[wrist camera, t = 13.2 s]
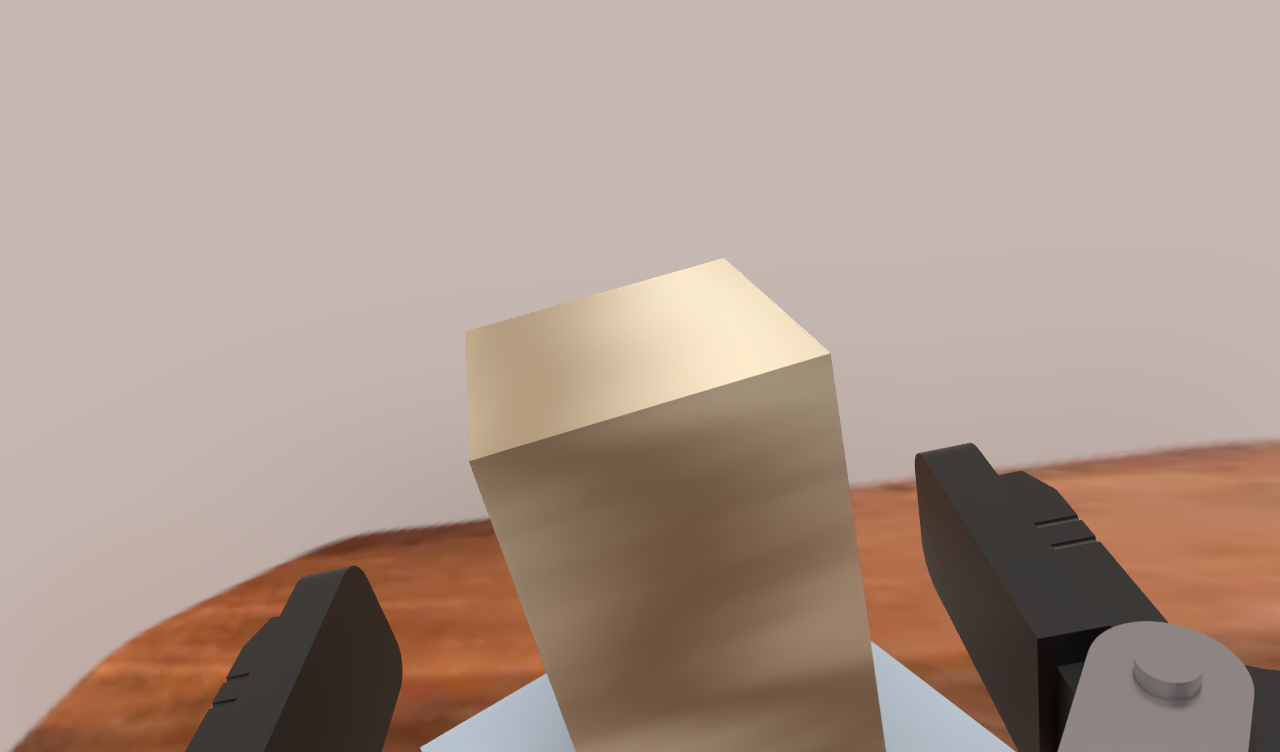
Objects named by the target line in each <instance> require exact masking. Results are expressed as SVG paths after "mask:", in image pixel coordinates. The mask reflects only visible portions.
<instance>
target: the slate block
mask: <svg viewBox="0 0 1280 752" xmlns="http://www.w3.org/2000/svg"><path fill="white" fill-rule="evenodd" d="M871 647H872V654H873V661H874V668H875V676H876V683H877V690H878V697H879V704H880V711H881V719H882V726H883V733H884V740H885V747H886V752H1015V751H1014V750H1013V749H1011V748H1010V747H1009V746H1007V745H1006V744H1005V743H1003V742H1002V741H1001V740H1000V739H998V738H997V737H996V736H994V735H993V734H992V733H990V732H989V731H988V730H987V729H985V728H984V727H983V726H981V725H980V724H979V723H977V722H976V721H975V720H974V719H972V718H971V717H970V716H968V715H967V714H966V713H964V712H963V711H962V710H960V709H959V708H958V707H957V706H955V705H954V704H953V703H951V702H950V701H949V700H947V699H946V698H945V697H944V696H942V695H941V694H940V693H938V692H937V691H936V690H934V689H933V688H932V687H930V686H929V685H928V684H927V683H925V682H924V681H923V680H921V679H920V678H919V677H917V676H916V675H915V674H914V673H912V672H911V671H910V670H908V669H907V668H906V667H904V666H903V665H902V664H900V663H899V662H898V661H897V660H895V659H894V658H893V657H891V656H890V655H889V654H887V653H886V652H885V651H884V650H882V649H881V648H880V647H878V646H877V645H876V644H874V643H873V642H872V641H871ZM420 748H421V751H422V752H575V749H574V746H573V743H572V741H571V738H570V735H569V733H568V730H567V727H566V724H565V722H564V719H563V716H562V713H561V711H560V708H559V705H558V703H557V700H556V697H555V694H554V692H553V689H552V686H551V683H550V681H549V678H548V675H547V673H546V674H545V675H543V676H541V677H540V678H538V679H536V680H534V681H533V682H531V683H529V684H528V685H526V686H524V687H522V688H521V689H519V690H517V691H516V692H514V693H512V694H511V695H509V696H507V697H505V698H504V699H502V700H500V701H499V702H497V703H495V704H494V705H492V706H490V707H488V708H487V709H485V710H483V711H482V712H480V713H478V714H477V715H475V716H473V717H471V718H470V719H468V720H466V721H465V722H463V723H461V724H460V725H458V726H456V727H454V728H453V729H451V730H449V731H448V732H446V733H444V734H443V735H441V736H439V737H437V738H436V739H434V740H432V741H431V742H429V743H427V744H426V745H424V746H422V747H420Z"/></svg>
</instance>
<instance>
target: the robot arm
mask: <svg viewBox="0 0 1280 752" xmlns="http://www.w3.org/2000/svg"><path fill="white" fill-rule="evenodd" d="M915 474H916V485H917V495H918V506H919V516H920V526H921V537H922V546H923V551H924V556H925V560H926V564H927V567H928V571H929V574H930V577H931V579H932V582H933V584H934V587H935V589H936V591H937V593H938V595H939V597H940V599H941V601H942V603H943V605H944V607H945V608H946V610H947V612H948V614H949V616H950V618H951V620H952V622H953V624H954V626H955V628H956V630H957V632H958V634H959V636H960V638H961V640H962V642H963V644H964V646H965V647H966V649H967V651H968V653H969V655H970V657H971V659H972V661H973V663H974V665H975V667H976V669H977V671H978V673H979V675H980V677H981V679H982V681H983V683H984V685H985V686H986V688H987V690H988V692H989V694H990V696H991V698H992V700H993V702H994V704H995V706H996V708H997V710H998V712H999V714H1000V716H1001V718H1002V720H1003V722H1004V724H1005V725H1006V727H1007V729H1008V731H1009V733H1010V735H1011V737H1012V739H1013V741H1014V743H1015V745H1016V747H1017V749H1018V751H1019V752H1280V671H1278V670H1269V669H1261V668H1256V667H1252V666H1247V665H1244V664H1243V663H1242V662H1241V661H1240V660H1239V658H1238V657H1237V656H1236V655H1235V654H1233V653H1232V652H1231V651H1230V650H1229V649H1228V648H1226V647H1225V646H1223V645H1222V644H1220V643H1219V642H1218V641H1216V640H1214V639H1212V638H1210V637H1208V636H1207V635H1205V634H1202V633H1200V632H1197V631H1195V630H1192V629H1190V628H1186V627H1183V626H1179V625H1175V624H1170V623H1168V622H1167V621H1166V619H1165V618H1164V617H1163V616H1162V615H1161V613H1160V612H1159V611H1158V610H1157V609H1156V607H1155V606H1154V605H1153V604H1152V603H1151V602H1150V600H1149V599H1148V598H1147V597H1146V596H1145V594H1144V593H1143V592H1142V591H1141V590H1140V589H1139V587H1138V586H1137V585H1136V584H1135V583H1134V581H1133V580H1132V579H1131V578H1130V577H1129V575H1128V574H1127V573H1126V572H1125V571H1124V570H1123V568H1122V567H1121V566H1120V565H1119V564H1118V562H1117V561H1116V560H1115V559H1114V558H1113V556H1112V555H1111V554H1110V553H1109V552H1108V551H1107V549H1106V548H1105V547H1104V546H1103V545H1102V543H1101V542H1097V541H1096V538H1095V535H1094V534H1093V533H1092V532H1091V530H1090V529H1089V528H1088V527H1087V526H1086V524H1085V523H1084V522H1083V521H1082V520H1079V519H1078V516H1077V514H1076V513H1075V511H1074V510H1073V509H1072V508H1071V507H1070V505H1069V504H1068V503H1067V502H1066V501H1065V500H1064V498H1063V497H1062V496H1061V495H1060V494H1059V492H1058V491H1057V490H1056V489H1054V488H1053V487H1051V486H1049V485H1047V484H1045V483H1043V482H1042V481H1040V480H1038V479H1036V478H1034V477H1032V476H1031V475H1029V474H1027V473H1025V472H1023V471H1017V472H1012V473H1007V474H1002V475H998V474H997V473H996V472H995V470H994V469H993V468H992V466H991V465H990V464H989V462H988V461H987V460H986V458H985V457H984V456H983V454H982V453H981V452H980V451H979V449H978V448H977V447H976V446H975V445H974V444H972V443H967V444H963V445H957V446H953V447H947V448H942V449H937V450H933V451H928V452H923V453H918V454H917V455H916V457H915ZM226 678H227V683H224V684H222V686H221V688H220V690H219V692H218V693H217V695H216V697H215V699H214V701H213V702H212V703H213V709H209V710H208V712H207V713H206V715H205V717H204V719H203V721H202V722H201V724H200V726H199V728H198V730H197V731H196V733H195V735H194V737H193V739H192V740H191V742H190V744H189V746H188V748H187V749H186V751H185V752H381V751H382V748H383V745H384V741H385V738H386V735H387V731H388V728H389V725H390V722H391V718H392V715H393V712H394V708H395V705H396V702H397V698H398V695H399V692H400V688H401V683H402V659H401V653H400V649H399V646H398V643H397V641H396V639H395V636H394V634H393V632H392V630H391V628H390V626H389V624H388V621H387V619H386V617H385V615H384V613H383V611H382V609H381V607H380V604H379V602H378V600H377V598H376V596H375V594H374V592H373V589H372V587H371V585H370V583H369V581H368V579H367V577H366V575H365V573H364V572H363V571H362V570H361V569H360V568H359V567H357V566H350V567H345V568H340V569H335V570H330V571H325V572H320V573H316V574H311V575H306V576H303V577H302V578H301V579H300V580H299V581H298V583H297V584H296V586H295V588H294V590H293V592H292V594H291V596H290V598H289V600H288V602H287V603H286V605H285V607H284V609H283V611H282V613H281V615H280V616H278V617H273V618H271V619H270V620H269V621H268V622H267V623H266V624H265V625H264V626H263V627H262V628H261V629H260V630H259V631H258V632H257V633H256V634H255V635H254V636H253V637H252V638H251V639H250V641H249V642H248V643H247V644H246V645H245V646H244V647H243V648H242V650H241V652H240V654H239V655H238V657H237V659H236V661H235V663H234V665H233V666H232V668H231V670H230V672H229V674H228V675H227V677H226Z"/></svg>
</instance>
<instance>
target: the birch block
mask: <svg viewBox="0 0 1280 752" xmlns="http://www.w3.org/2000/svg"><path fill="white" fill-rule="evenodd" d="M830 354H831V353H830V352H829V351H828V350H826V349H825V348H824V347H823V346H822V345H821V344H819V342H817V341H816V340H815V339H814V338H813V337H812V336H811V335H809V334H808V333H807V332H806V331H805V330H804V329H803V328H802V327H801V326H799V325H798V324H797V323H796V322H795V321H794V320H793V319H792V318H791V317H789V316H788V315H787V314H786V313H785V312H784V311H783V310H782V309H780V308H779V307H778V306H777V305H776V304H775V303H774V302H773V301H772V300H770V299H769V298H768V297H767V296H766V295H765V294H764V293H763V292H761V291H760V290H759V289H758V288H757V287H756V286H755V285H754V284H752V283H751V282H750V281H749V280H748V279H747V278H746V277H745V276H744V275H742V274H741V273H740V272H739V271H738V270H737V269H736V268H734V267H733V266H732V265H731V264H730V263H729V262H728V261H727V260H726V259H724V258H722V259H719V260H715V261H712V262H708V263H705V264H701V265H698V266H694V267H691V268H687V269H684V270H680V271H677V272H673V273H670V274H666V275H663V276H659V277H656V278H652V279H649V280H645V281H642V282H638V283H635V284H631V285H627V286H624V287H620V288H617V289H613V290H610V291H606V292H603V293H600V294H596V295H593V296H589V297H585V298H582V299H578V300H575V301H571V302H568V303H564V304H561V305H557V306H554V307H550V308H547V309H543V310H540V311H536V312H533V313H529V314H526V315H522V316H518V317H515V318H511V319H508V320H505V321H501V322H498V323H494V324H490V325H487V326H483V327H480V328H477V329H473V330H469V331H466V357H467V398H468V440H469V462H470V465H471V468H472V471H473V473H474V476H475V479H476V481H477V484H478V487H479V490H480V492H481V495H482V498H483V501H484V503H485V506H486V509H487V512H488V514H489V517H490V520H491V522H492V525H493V528H494V531H495V533H496V536H497V539H498V542H499V544H500V547H501V550H502V552H503V555H504V558H505V561H506V563H507V566H508V569H509V572H510V574H511V577H512V580H513V582H514V585H515V588H516V591H517V593H518V596H519V599H520V602H521V604H522V607H523V610H524V612H525V615H526V618H527V621H528V623H529V626H530V629H531V632H532V634H533V637H534V640H535V643H536V645H537V648H538V651H539V653H540V656H541V659H542V662H543V664H544V667H545V670H546V673H547V675H548V678H549V681H550V683H551V686H552V689H553V692H554V694H555V697H556V700H557V703H558V705H559V708H560V711H561V713H562V716H563V719H564V722H565V724H566V727H567V730H568V733H569V735H570V738H571V741H572V743H573V746H574V749H575V752H886V747H885V740H884V733H883V726H882V719H881V711H880V704H879V697H878V690H877V683H876V676H875V668H874V661H873V654H872V647H871V640H870V633H869V625H868V618H867V611H866V604H865V597H864V590H863V582H862V575H861V568H860V561H859V554H858V547H857V540H856V532H855V525H854V518H853V511H852V504H851V497H850V489H849V482H848V475H847V468H846V461H845V454H844V446H843V440H842V432H841V425H840V418H839V411H838V404H837V397H836V389H835V383H834V375H833V368H832V362H831V361H832V360H831V355H830Z"/></svg>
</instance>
